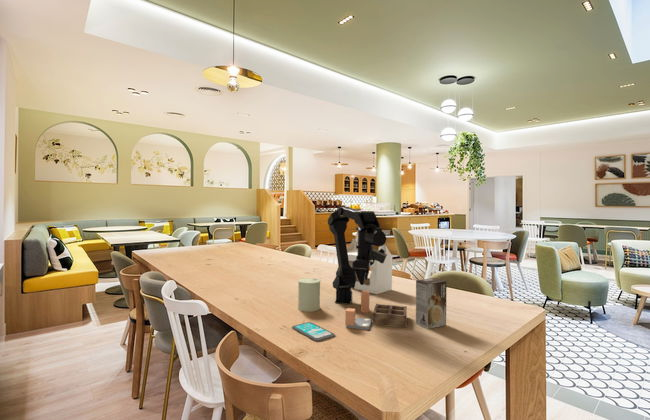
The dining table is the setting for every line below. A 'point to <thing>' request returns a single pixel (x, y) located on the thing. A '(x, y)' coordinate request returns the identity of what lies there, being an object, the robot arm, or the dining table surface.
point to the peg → (365, 301)
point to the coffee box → (430, 303)
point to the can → (309, 294)
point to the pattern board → (356, 320)
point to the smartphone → (313, 331)
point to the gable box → (373, 270)
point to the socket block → (390, 315)
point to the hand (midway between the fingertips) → (363, 281)
